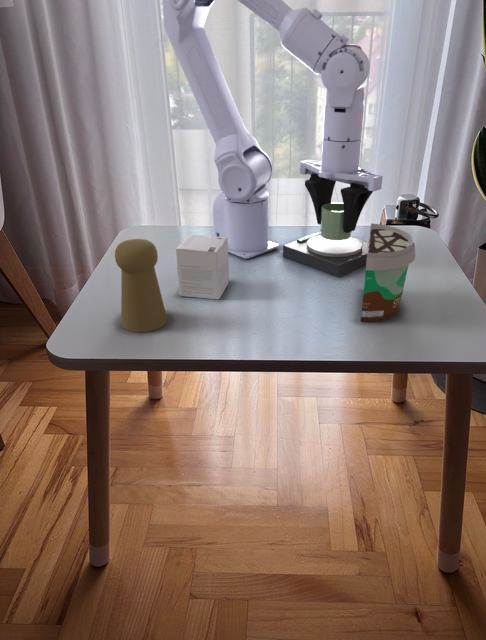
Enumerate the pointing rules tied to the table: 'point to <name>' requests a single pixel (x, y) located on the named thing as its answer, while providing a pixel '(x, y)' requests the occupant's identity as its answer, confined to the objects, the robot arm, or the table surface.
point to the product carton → (203, 266)
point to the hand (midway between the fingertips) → (335, 226)
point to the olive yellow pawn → (139, 286)
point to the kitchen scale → (328, 253)
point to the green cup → (333, 222)
